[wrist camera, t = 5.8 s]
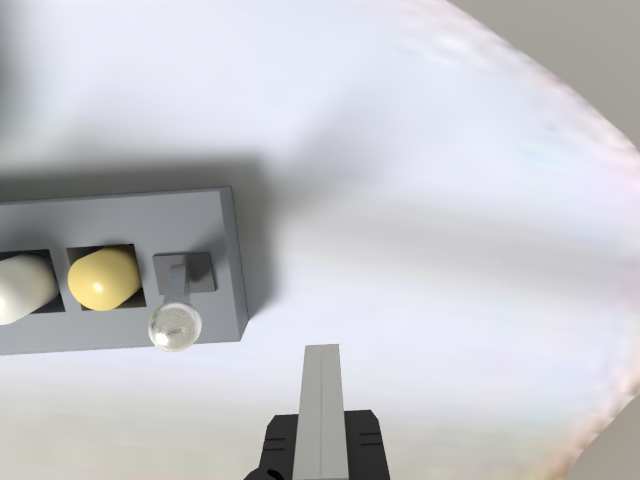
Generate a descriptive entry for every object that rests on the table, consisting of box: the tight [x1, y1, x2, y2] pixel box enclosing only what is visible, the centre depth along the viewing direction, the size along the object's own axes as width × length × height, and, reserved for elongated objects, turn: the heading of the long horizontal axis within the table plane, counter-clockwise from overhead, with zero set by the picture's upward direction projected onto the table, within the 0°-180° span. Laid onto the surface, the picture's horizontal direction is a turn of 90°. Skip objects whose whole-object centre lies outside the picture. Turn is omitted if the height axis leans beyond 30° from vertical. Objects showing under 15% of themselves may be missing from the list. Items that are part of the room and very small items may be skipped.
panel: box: [0, 186, 249, 355], centre depth 33 cm, size 28×14×4 cm, turn 94°
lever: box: [148, 263, 202, 352], centre depth 25 cm, size 3×3×11 cm
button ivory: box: [0, 253, 60, 325], centre depth 30 cm, size 5×5×4 cm
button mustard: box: [68, 244, 143, 311], centre depth 31 cm, size 5×5×4 cm
